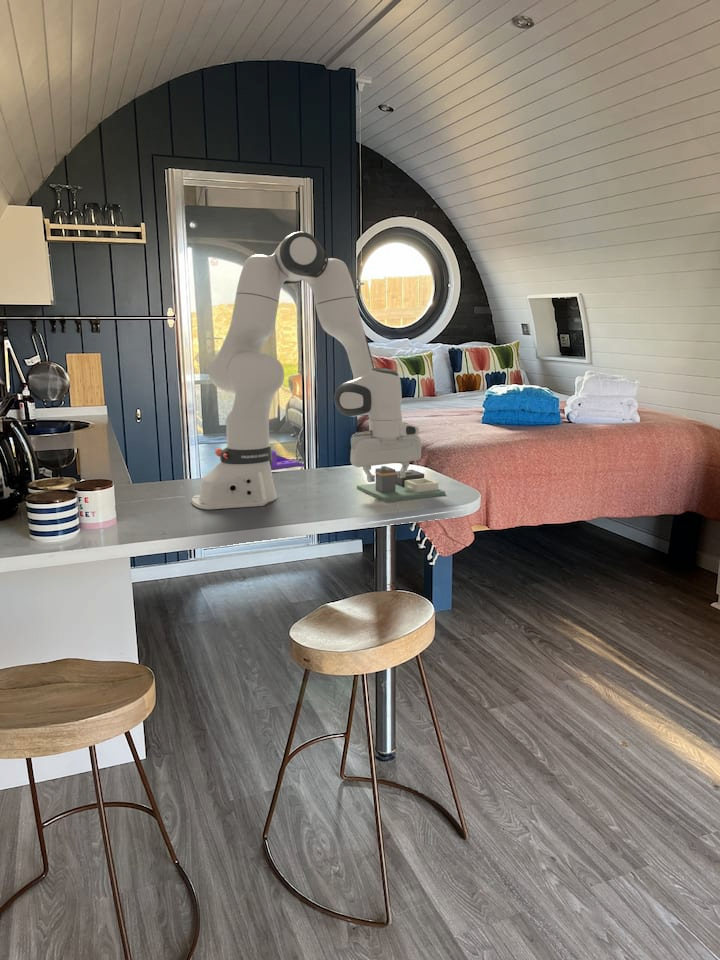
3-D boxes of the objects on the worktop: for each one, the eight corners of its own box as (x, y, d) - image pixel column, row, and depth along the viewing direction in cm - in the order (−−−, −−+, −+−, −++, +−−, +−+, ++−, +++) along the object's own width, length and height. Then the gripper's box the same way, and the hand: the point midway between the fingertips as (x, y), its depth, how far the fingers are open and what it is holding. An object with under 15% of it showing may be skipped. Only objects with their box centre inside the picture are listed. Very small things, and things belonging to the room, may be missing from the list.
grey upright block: (382, 493, 200) (382, 469, 198) (375, 490, 203) (375, 466, 202) (395, 491, 201) (395, 467, 200) (388, 488, 205) (388, 465, 204)
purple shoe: (271, 473, 235) (270, 451, 234) (261, 469, 241) (260, 448, 240) (304, 468, 242) (303, 447, 241) (293, 465, 248) (293, 445, 246)
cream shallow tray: (414, 492, 200) (414, 485, 200) (401, 487, 206) (402, 480, 206) (438, 489, 203) (438, 482, 203) (425, 485, 209) (425, 478, 209)
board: (385, 502, 194) (385, 498, 194) (356, 488, 210) (356, 485, 210) (445, 495, 201) (445, 491, 201) (412, 482, 217) (412, 479, 217)
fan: (402, 486, 207) (402, 474, 207) (390, 482, 213) (390, 470, 213) (424, 484, 210) (424, 472, 209) (412, 479, 216) (412, 468, 216)
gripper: (355, 434, 192) (357, 486, 195) (424, 427, 201) (424, 477, 204) (345, 431, 198) (346, 481, 201) (412, 424, 207) (412, 473, 210)
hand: (386, 479), depth 203 cm, fingers open, 8 cm apart
